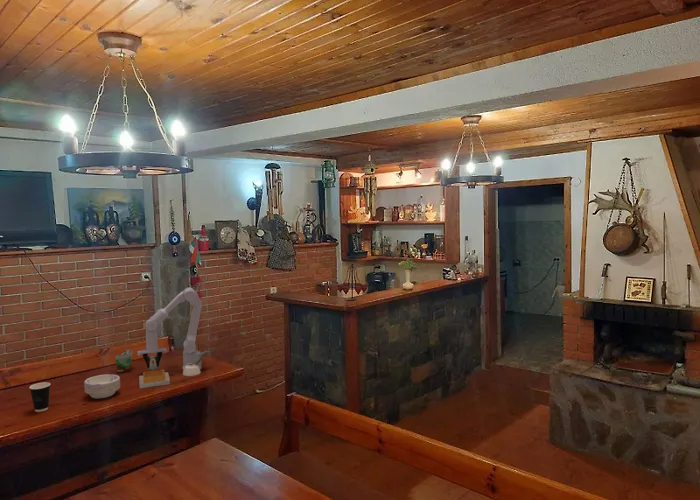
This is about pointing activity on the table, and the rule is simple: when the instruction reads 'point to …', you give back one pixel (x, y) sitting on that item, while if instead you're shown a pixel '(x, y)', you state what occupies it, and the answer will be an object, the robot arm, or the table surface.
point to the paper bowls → (102, 385)
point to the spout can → (152, 363)
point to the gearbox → (154, 378)
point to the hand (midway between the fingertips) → (153, 366)
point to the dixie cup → (40, 396)
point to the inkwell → (194, 365)
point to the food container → (124, 361)
